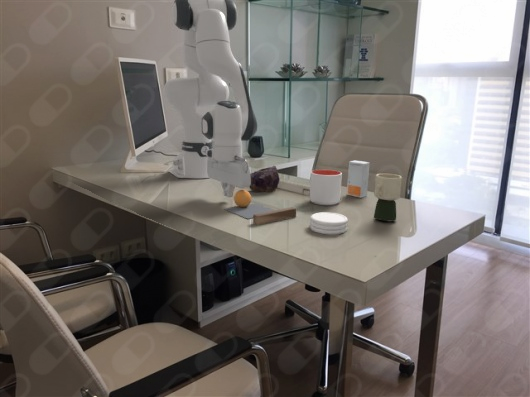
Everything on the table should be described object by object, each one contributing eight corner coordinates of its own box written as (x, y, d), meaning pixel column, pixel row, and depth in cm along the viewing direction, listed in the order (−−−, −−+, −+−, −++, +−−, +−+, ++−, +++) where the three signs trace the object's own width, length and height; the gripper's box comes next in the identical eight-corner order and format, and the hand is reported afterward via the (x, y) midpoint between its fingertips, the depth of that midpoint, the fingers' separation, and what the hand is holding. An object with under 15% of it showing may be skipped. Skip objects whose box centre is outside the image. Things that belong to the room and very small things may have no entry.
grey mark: (224, 209, 134) (224, 208, 134) (256, 203, 141) (256, 203, 141) (247, 219, 125) (247, 218, 125) (280, 212, 132) (280, 211, 132)
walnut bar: (253, 223, 121) (253, 214, 121) (291, 215, 130) (291, 206, 129) (257, 225, 120) (257, 216, 119) (295, 216, 128) (296, 208, 127)
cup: (322, 196, 152) (323, 168, 149) (346, 202, 145) (348, 172, 142) (303, 201, 145) (304, 172, 142) (327, 208, 138) (329, 176, 135)
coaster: (322, 221, 125) (323, 209, 124) (353, 229, 119) (354, 216, 118) (302, 229, 118) (302, 217, 117) (334, 238, 111) (335, 225, 111)
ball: (243, 195, 132) (238, 211, 134) (256, 194, 135) (252, 209, 138) (232, 187, 135) (228, 202, 137) (246, 186, 139) (242, 201, 141)
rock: (247, 193, 160) (263, 198, 152) (244, 170, 158) (260, 174, 150) (272, 184, 166) (289, 189, 159) (270, 162, 164) (286, 166, 156)
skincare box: (346, 195, 155) (348, 161, 152) (352, 193, 158) (354, 160, 155) (361, 198, 151) (363, 163, 148) (367, 196, 154) (370, 162, 151)
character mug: (384, 213, 133) (388, 171, 129) (405, 219, 128) (410, 175, 124) (363, 220, 126) (366, 176, 122) (384, 226, 120) (389, 180, 117)
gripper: (255, 157, 133) (255, 201, 137) (219, 149, 149) (219, 189, 152) (238, 159, 129) (238, 205, 133) (203, 150, 145) (203, 191, 148)
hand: (228, 196), depth 143 cm, fingers closed
